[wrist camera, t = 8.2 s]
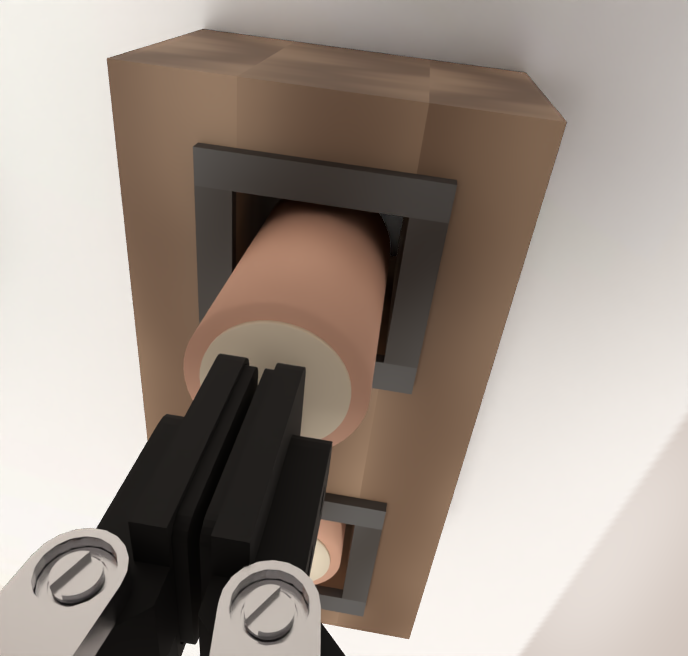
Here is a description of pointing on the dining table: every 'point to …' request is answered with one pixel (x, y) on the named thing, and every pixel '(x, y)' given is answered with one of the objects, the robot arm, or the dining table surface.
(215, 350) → the peg
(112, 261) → the dining table surface
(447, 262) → the walnut block
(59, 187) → the dining table surface
